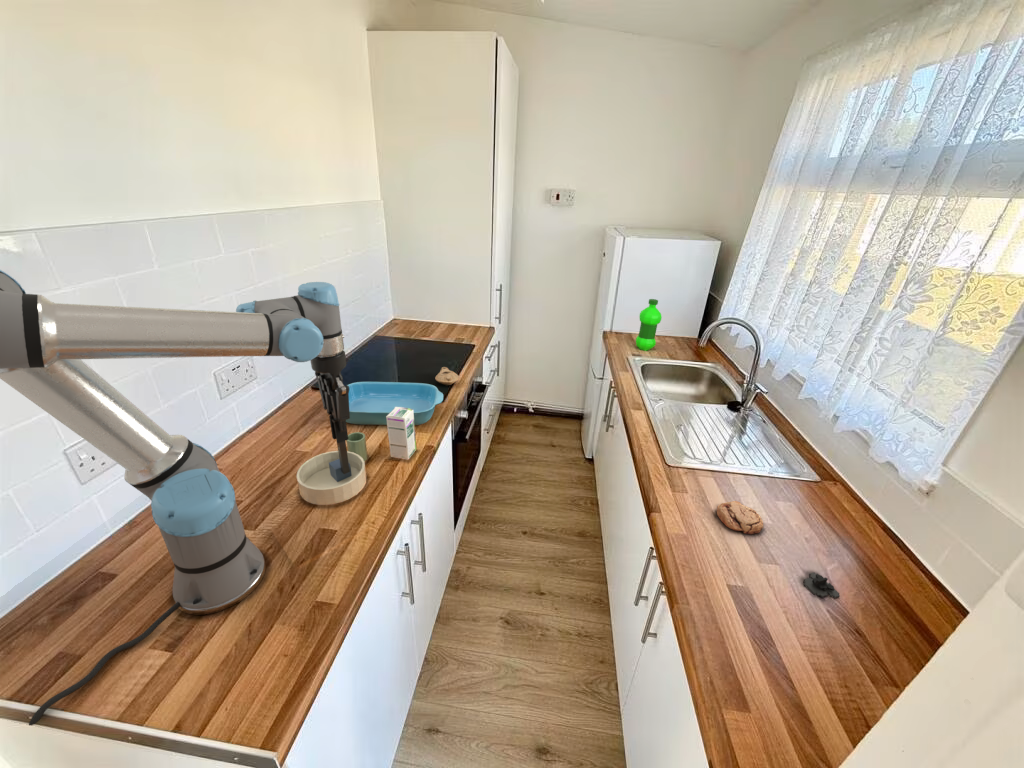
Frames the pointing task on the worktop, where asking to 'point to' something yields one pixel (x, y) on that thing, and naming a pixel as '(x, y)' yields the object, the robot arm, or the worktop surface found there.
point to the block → (338, 471)
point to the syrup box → (401, 432)
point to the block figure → (820, 586)
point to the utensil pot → (357, 444)
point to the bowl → (330, 479)
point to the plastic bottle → (648, 326)
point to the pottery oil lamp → (446, 376)
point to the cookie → (739, 517)
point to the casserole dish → (391, 401)
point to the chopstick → (343, 455)
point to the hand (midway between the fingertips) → (340, 438)
